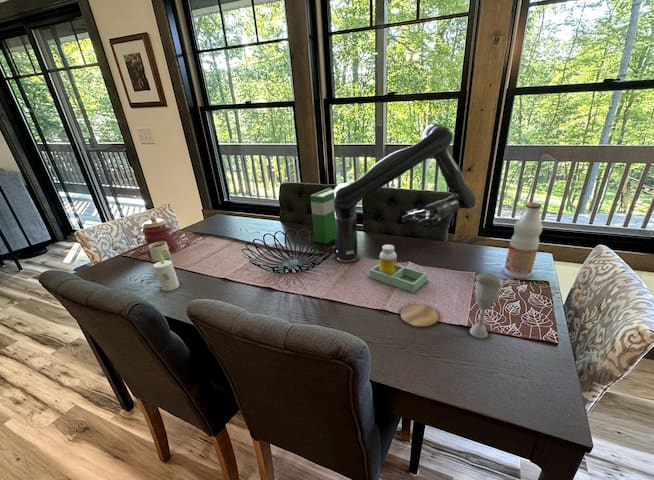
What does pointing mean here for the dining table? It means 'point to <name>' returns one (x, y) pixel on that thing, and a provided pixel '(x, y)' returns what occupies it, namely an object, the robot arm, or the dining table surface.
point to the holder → (400, 273)
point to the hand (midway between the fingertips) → (410, 221)
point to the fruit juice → (524, 243)
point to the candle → (166, 274)
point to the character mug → (157, 248)
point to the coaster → (419, 315)
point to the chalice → (485, 299)
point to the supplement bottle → (387, 260)
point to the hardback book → (323, 216)
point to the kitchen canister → (158, 232)
